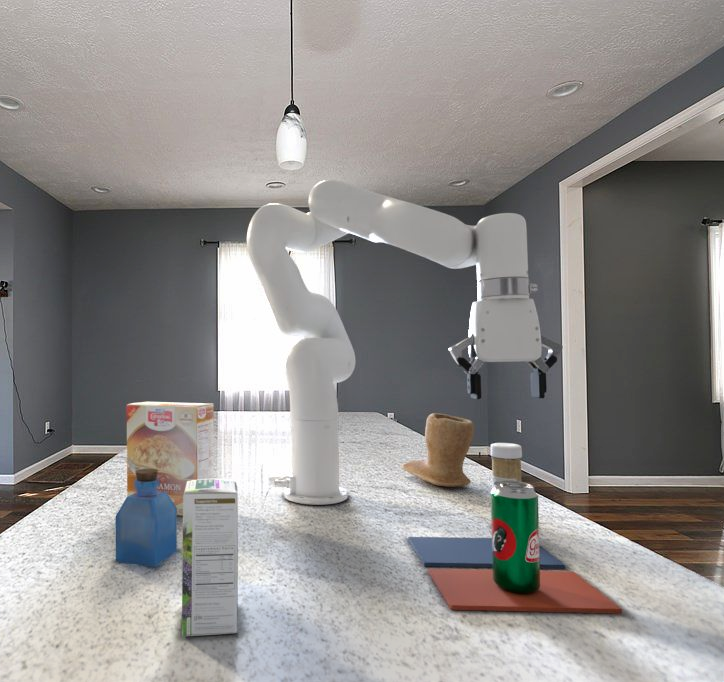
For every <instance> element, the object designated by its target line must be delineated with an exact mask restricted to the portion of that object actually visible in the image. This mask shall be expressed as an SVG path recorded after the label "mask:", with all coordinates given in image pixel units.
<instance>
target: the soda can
mask: <svg viewBox="0 0 724 682" xmlns="http://www.w3.org/2000/svg"><path fill="white" fill-rule="evenodd" d="M490 519H491V520H490V521H491V522H490V525H491V538H492V567H491V570H492V573H493V580H494V582H495V583H496V585H497V586H498V587H499V588H501V589H503V590H505V591H507V592H511V593H515V594H523V595H524V594H532V593H535V592H536V591H537V590H538V589H539V588H540V571H541V568H540V555H539V545H540V527H539V526H540V520H539V519H540V518H539V495H538V494H537V493H536V491H535V485H533V484H530V483H529V482H524V481H522V482H518V481H497V482H495V483H494V488H493V489H492V488H491V491H490Z"/></svg>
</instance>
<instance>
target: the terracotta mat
mask: <svg viewBox="0 0 724 682" xmlns="http://www.w3.org/2000/svg"><path fill="white" fill-rule="evenodd" d="M427 573H428V574H429V576H430V577H431V580H432V581H433V583H434V584H435V586H436V587H437V589H438V591H439V592H440V594H441V595H442V597H443V599H444V601H445V602H446V604H447V605H448V607H449V609H450V610H451V611H487V612H488V611H489V612H490V611H494V612H495V611H496V612H534V613H535V612H537V613H538V612H539V613H576V614H577V613H578V614H579V613H581V614H582V613H584V614H619V615H620V614H623V608H622V607H621V606H619V605H617V603H615V602H614V601H612V600H611V599H610V598H609V597H607V596H606V595H605V594H603V593H602V592H601V591H599V589H597V588H596V587H594V586H593V585H592V584H590V583H589V582H588V581H587V580H585V579H584V578H583V577H581V575H578V574H577V572H575V571H574V570H540V588H539V589H538V590H537V591H536V592H535V593H532V594H524V595H523V594H515V593H511V592H507V591H505V590H503V589H501V588H499V587H498V586H497V585H496V583H495V582H494V580H493V573H492V569H465V568H464V569H463V568H462V569H461V568H428V569H427Z"/></svg>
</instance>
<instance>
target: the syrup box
mask: <svg viewBox="0 0 724 682" xmlns="http://www.w3.org/2000/svg"><path fill="white" fill-rule="evenodd" d="M238 491H239V490H238V484H237V481H236V480H234V479H224V478H214V479H198V480H191V481H187V484H186V488H185V492H184V495H183V516H182V549H181V550H182V553H181V554H182V557H181V558H182V561H181V562H182V563H181V565H182V566H181V567H182V568H181V577H182V578H181V635H182V636H183V637H199V636H216V635H227V634H228V635H230V634H237V633H238V626H239V625H238V614H239V613H238V611H239V609H238V608H239V605H238V604H239V603H238V602H239V601H238V600H239V598H238V597H239V593H238V592H239V585H238V584H239V580H238V579H239V506H238V505H239V499H238V498H239V493H238Z"/></svg>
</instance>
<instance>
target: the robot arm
mask: <svg viewBox="0 0 724 682" xmlns="http://www.w3.org/2000/svg"><path fill="white" fill-rule="evenodd" d="M307 204H308V209H309V211H308V212H307V213H306V212H304V211H302V210H299V209H298V208H297V209H296V208H294V207H292V206H289V205H286V204H283V203H278V202H277V203H276V202H273V203H267V204H264V205H262V206H261V207H259V208H258V209H257V210H256V211H255V213H254V214H253V215H252V217H251V219H250V221H249V224H248V227H247V233H246V249H247V254H248V257H249V260H250V263H251V265H252V267H253V270H254V271H255V273H256V276H257V278H258V280H259V283H260V286H261V289H262V291H263V294H264V296H265V299H266V302H267V305H268V307H269V310H270V312H271V314H272V317H273V320H274V322H275V325H276V327H277V329H278V330H279V331H280V332H281V333H283V335H287V336H292V337H293V336H294V337H302V339H299V340H297V341H296V342H294V343H292V345H291V346H290V347H289V348H288V350H287V352H286V355H285V360H284V367H285V368H284V369H285V375H286V380H287V385H288V393H289V394H288V395H289V415H290V416H289V419H290V470H289V473H286V474H284V475H269V476H268V485H269V486H274V488H284V490H283V497H284V498H285V499H286V500H288V501H290V502H293V503H297V504H301V505H313V506H324V505H333V504H338V503H342V502H344V501H346V500H347V499H348V494H349V493H348V490H347V489H346V488H344V487H341V486H340V433H339V432H340V431H339V430H340V429H339V402H338V398H337V397H338V396H337V392H336V389H335V384H337V383H338V384H339V383H342V382H344V381H346V380H348V379H349V378H350V377H351V376H352V374H353V372H354V370H355V368H356V353H355V350H354V348H353V344H352V342H351V340H350V338H349V336H348V333H347V331H346V329H345V326H344V323H343V321H342V318H341V317H340V314H339V312H338V310H337V308H336V307H335V305H334V304H333V302H332V301H331V300H330V299H329V298H327V297H326V296H324V295H322V294H319V293H315V292H311V291H310V290H309V289H308V288H307V286H306V284H305V281H304V279H303V278H302V275H301V271H300V269H299V267H298V264H296V262H295V260H294V259H293V258H292V256H291V255H290V253H289V251H293V252H296V253H308V252H312V251H315V250H316V249H318V248H321V247H324V246H325V245H328V244H330V243H332V242H334V241H336V240H338V239H341V238H342V237H344V236H346V235H348V234H352V235H355V236H357V237H360V238H362V239H365V240H367V241H370V242H373V243H376V244H378V243H384V244H387V245H391V246H394V247H396V248H399V249H402V250H405V251H407V252H410V253H412V254H415V255H417V256H420V257H423V258H425V259H427V260H429V261H432V262H435V263H437V264H439V265H441V266H443V267H445V268H448V269H454V270H457V269H465V268H469V267H472V266H476V280H477V283H476V284H477V301H473V302H472V304H471V309H470V317H469V327H468V328H469V329H468V336H467V338H464V339H463V340H461V341H459V342H457V343H455V344H453V345H451V346H450V347H449V348H448V351H449V353H450V355H451V357H452V358H453V360H454V363H455V364H456V365H457V366H458V367H459V368H460V369H461V370H462V371H463V372H464V373H465V374H466V382H467V383H466V385H467V386H466V387H467V394H468V395H470V398H471V399H474V400H480V399H482V377H481V376H482V375H481V374H480V373H479V370H480V369H481V368H482V367H483V365H484V364H485V363H509V362H510V363H511V362H526V363H527V364H528V366H529V367H530V368H531V369H532V370H533V372H530V395H531V397H533V398H535V399H545V394H546V393H547V389H548V387H547V373H549V372H550V370H551V368H552V367H553V366H554V365H555V364H556V363H557V362H558V358H559V356H560V354H561V352H562V350H563V345H562V344H561V343H559V342H556V341H555V340H552V339H550V338H548V337H546V336H543V335H542V334H541V326H540V321H539V315H538V311H537V307H536V303H535V300H534V298H530V296H531V294H533V293H537V292H538V290H539V289H538V288H539V287H538V284H537V283H532V282H531V279H529V260H528V259H529V258H528V257H529V256H528V230H527V221H526V219H525V217H524V216H523V215H521V214H518V213H515V212H502V213H496V214H495V213H494V214H491V215H487V216H485V217H482V218H481V219H480V220H478V221H477V223H476V225H469V224H465V223H464V222H463V221H461V220H460V219H459V218H457V217H455V216H453V215H450V214H447V213H444V212H441V211H438V210H436V209H431V208H429V207H426V206H423V205H419V204H417V203H413V202H409V201H405V200H401V199H397V198H394V197H392V196H389V195H385V194H382V193H378V192H375V191H371V190H369V189H366V188H363V187H359V186H357V185H353V184H350V183H347V182H345V181H341V180H337V179H326V180H325V179H323V180H322V181H319V182H318V183H316V184H315V185H314V186H313V187H312V188H311V190H310V191H309V194H308V198H307ZM288 250H289V251H288ZM543 347H544V348H546V349H547V350H548V352H547V355H545V357H544V358H543V359H542V358H541V356H542V348H543ZM467 348H468V355H469V356H468V357H469V358H470V361H468V360H467V359H466V358H465V357H464V355H463V353H462V352H463V351H464V350H465V349H467Z"/></svg>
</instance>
